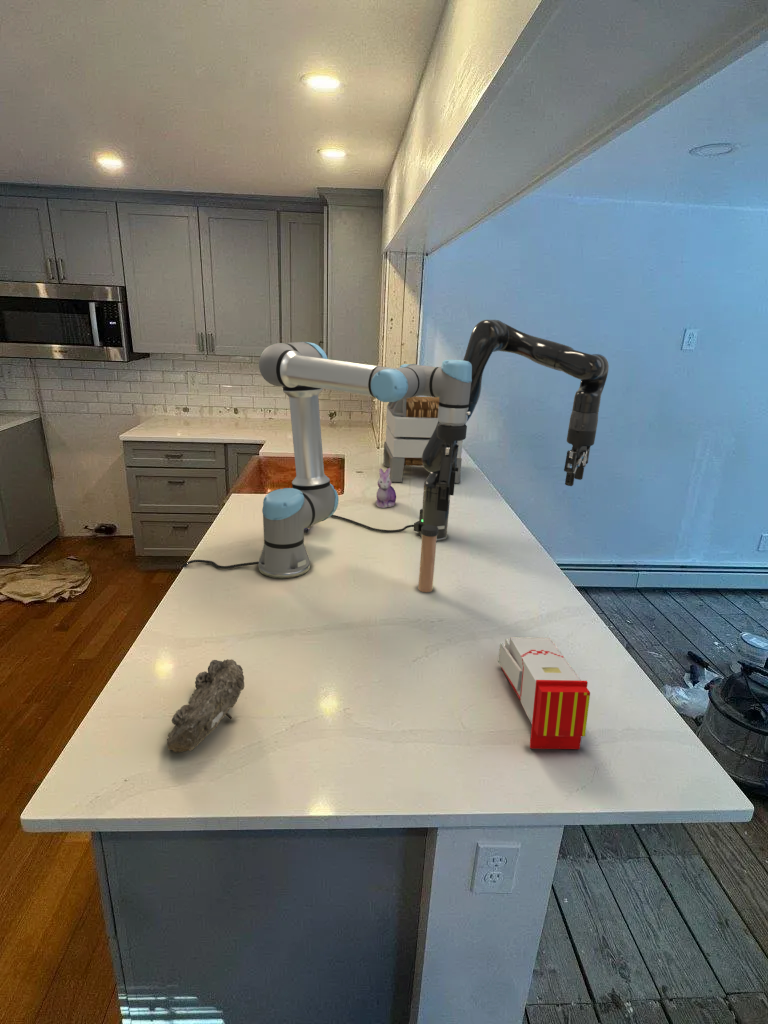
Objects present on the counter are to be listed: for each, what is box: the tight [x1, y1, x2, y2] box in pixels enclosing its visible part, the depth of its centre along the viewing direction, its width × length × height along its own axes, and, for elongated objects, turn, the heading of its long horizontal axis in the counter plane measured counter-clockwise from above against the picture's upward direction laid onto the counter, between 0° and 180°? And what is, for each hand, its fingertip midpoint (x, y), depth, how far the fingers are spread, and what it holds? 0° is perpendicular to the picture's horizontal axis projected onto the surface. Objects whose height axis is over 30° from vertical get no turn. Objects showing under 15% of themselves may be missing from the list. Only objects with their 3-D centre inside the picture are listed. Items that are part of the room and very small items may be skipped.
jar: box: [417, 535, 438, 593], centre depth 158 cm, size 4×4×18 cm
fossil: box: [166, 658, 245, 754], centre depth 106 cm, size 22×10×15 cm
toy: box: [497, 636, 591, 750], centre depth 115 cm, size 12×13×30 cm
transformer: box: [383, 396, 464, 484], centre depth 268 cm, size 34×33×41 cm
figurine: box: [375, 467, 397, 509], centre depth 226 cm, size 9×10×15 cm
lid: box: [421, 525, 438, 537], centre depth 155 cm, size 5×5×2 cm
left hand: (445, 502), depth 151 cm, fingers open, 13 cm apart
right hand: (573, 482), depth 165 cm, fingers open, 8 cm apart
